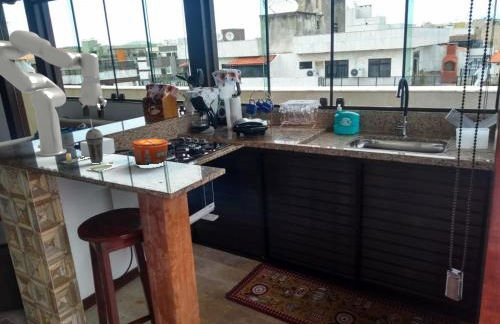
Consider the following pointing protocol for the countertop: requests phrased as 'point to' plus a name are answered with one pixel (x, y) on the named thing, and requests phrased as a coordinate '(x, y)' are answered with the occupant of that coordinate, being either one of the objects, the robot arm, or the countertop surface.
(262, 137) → the countertop surface
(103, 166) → the board
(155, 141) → the food container
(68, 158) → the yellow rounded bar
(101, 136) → the beverage cup
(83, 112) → the robot arm
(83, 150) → the cover
